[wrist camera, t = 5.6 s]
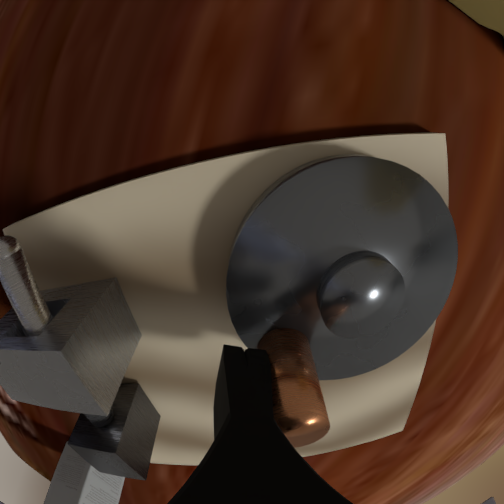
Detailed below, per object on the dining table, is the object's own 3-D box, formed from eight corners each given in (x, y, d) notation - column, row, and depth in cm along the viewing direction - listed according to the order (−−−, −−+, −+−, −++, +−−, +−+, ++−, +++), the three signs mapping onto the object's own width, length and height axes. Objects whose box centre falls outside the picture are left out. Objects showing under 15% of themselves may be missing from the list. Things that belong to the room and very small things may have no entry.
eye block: (27, 292, 11) (-25, 347, 7) (116, 276, 11) (60, 351, 6) (52, 340, 12) (12, 399, 8) (142, 335, 12) (107, 416, 8)
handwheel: (178, 275, 10) (137, 373, 6) (362, 101, 8) (456, 84, 4) (323, 387, 13) (344, 471, 8) (465, 270, 11) (532, 329, 6)
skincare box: (65, 439, 19) (32, 530, 8) (97, 446, 19) (66, 548, 8) (97, 467, 21) (74, 549, 10) (127, 473, 21) (108, 563, 10)
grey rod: (16, 225, 10) (-51, 267, 5) (59, 208, 9) (-18, 252, 5) (118, 414, 14) (99, 472, 10) (160, 416, 14) (145, 480, 10)
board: (14, 223, 11) (2, 229, 10) (431, 132, 10) (445, 133, 9) (151, 453, 18) (149, 462, 17) (398, 421, 17) (402, 430, 16)
